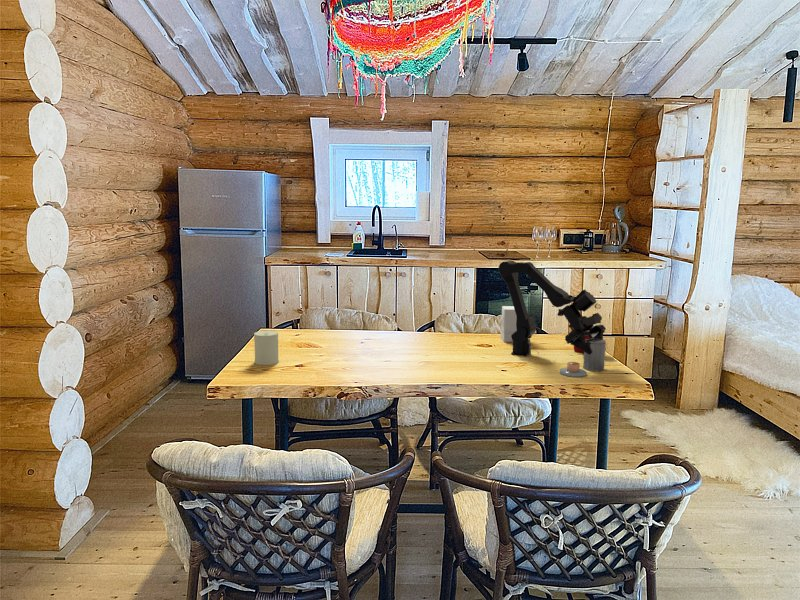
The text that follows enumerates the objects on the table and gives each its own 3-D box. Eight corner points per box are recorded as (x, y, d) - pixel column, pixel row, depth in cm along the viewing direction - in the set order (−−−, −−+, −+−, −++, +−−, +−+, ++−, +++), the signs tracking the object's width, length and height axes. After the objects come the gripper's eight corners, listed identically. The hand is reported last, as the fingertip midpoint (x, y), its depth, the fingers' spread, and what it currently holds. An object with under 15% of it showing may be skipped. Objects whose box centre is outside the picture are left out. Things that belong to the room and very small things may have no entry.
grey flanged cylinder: (581, 369, 242) (583, 341, 240) (586, 364, 248) (588, 337, 246) (601, 372, 238) (603, 343, 236) (605, 367, 244) (607, 339, 243)
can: (255, 366, 240) (254, 335, 238) (253, 359, 249) (253, 329, 247) (279, 364, 242) (279, 333, 240) (277, 358, 251) (277, 328, 249)
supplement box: (520, 337, 292) (521, 305, 290) (523, 342, 284) (525, 309, 281) (500, 337, 293) (501, 305, 290) (503, 342, 284) (504, 309, 281)
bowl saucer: (556, 374, 234) (556, 364, 234) (563, 368, 243) (564, 358, 242) (582, 378, 230) (583, 368, 229) (589, 372, 238) (589, 362, 237)
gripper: (573, 309, 236) (596, 343, 230) (603, 304, 248) (626, 337, 241) (555, 326, 244) (577, 360, 237) (584, 320, 255) (606, 352, 249)
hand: (597, 352), depth 241 cm, fingers open, 9 cm apart
